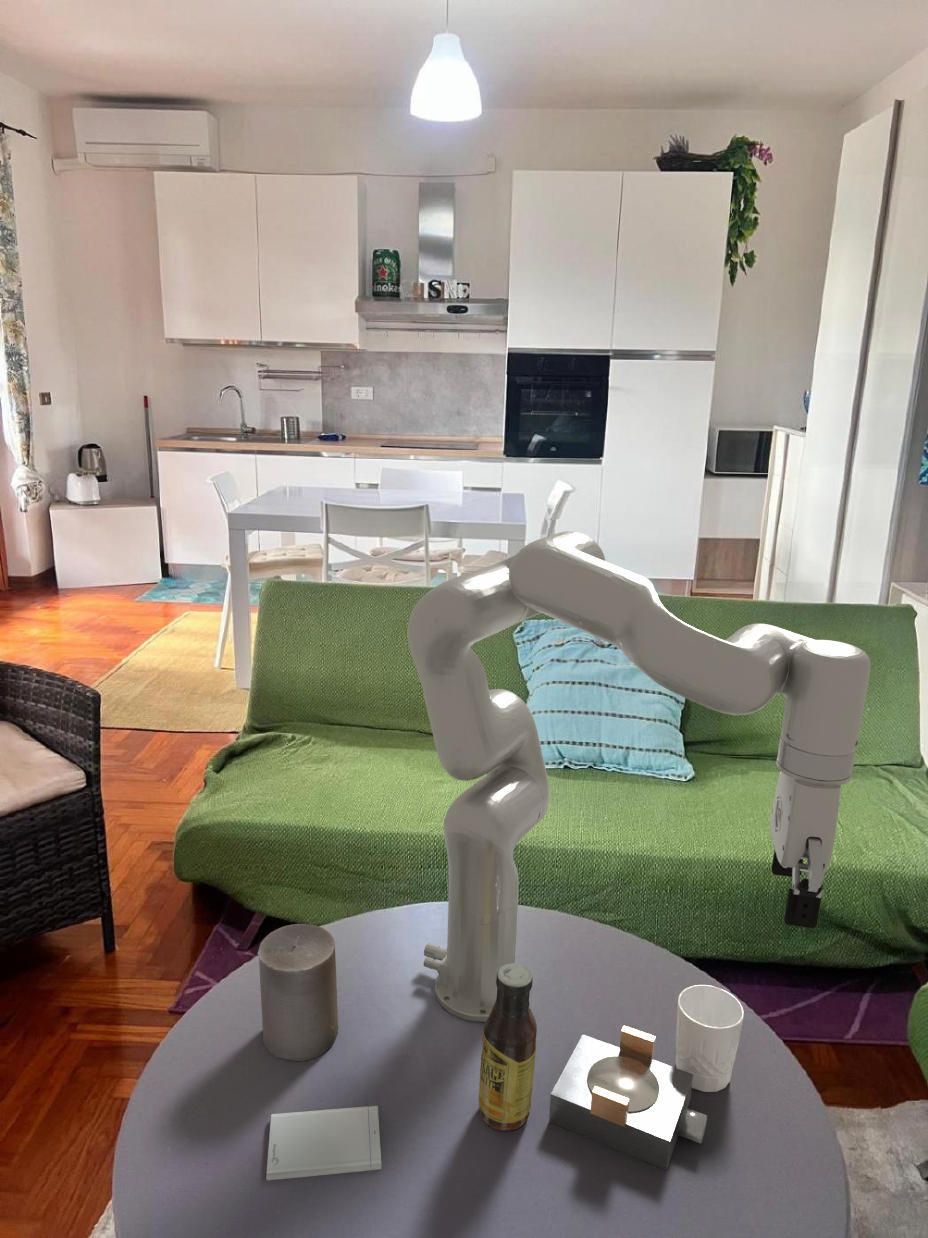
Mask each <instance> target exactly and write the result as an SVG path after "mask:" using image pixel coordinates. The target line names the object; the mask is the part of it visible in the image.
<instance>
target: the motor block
mask: <svg viewBox="0 0 928 1238" xmlns="http://www.w3.org/2000/svg"><path fill="white" fill-rule="evenodd" d="M619 1041H620V1044H619V1046H615V1045H613V1044H612V1043H608V1042H605V1041H602V1040H599V1039H596V1038H594V1037H592V1036H588V1035H587V1034H582V1035H581V1036H580V1039H579V1041H578V1043H577V1044H576V1046H575V1048H574V1050H573V1052H572V1054H571V1056H570V1057H569V1059H568V1061H567V1063H566V1065H565V1066H564V1069H563V1071H562V1073H561V1074H560V1076H559V1078H558V1080H557V1081H556V1084H555V1085H554V1087H553V1089H552V1090H551V1092H550V1099H549V1100H550V1101H549V1115H548V1122H549V1123H551V1124H553V1125H556V1126H558V1127H561V1128H563V1129H566V1130H567V1131H568V1130H569V1131H570V1132H573V1133H575V1134H578V1135H580V1136H582V1137H585V1138H588V1139H590V1140H593V1141H595V1142H597V1143H600V1144H602V1145H604V1146H606V1147H609V1148H612V1149H614V1150H617V1151H619V1152H621V1153H623V1154H626V1155H629V1156H631V1157H634V1158H636V1159H638V1160H641V1161H643V1162H646V1163H649V1164H651V1165H653V1166H655V1167H658V1168H660V1169H663V1170H665V1171H667V1170H668V1167H669V1165H670V1162H671V1158H672V1156H673V1153H674V1150H675V1146H676V1144H677V1141H678V1138H679V1136H681V1137H682V1138H685V1139H688V1140H690V1141H692V1142H696V1143H699V1144H702V1142H703V1140H704V1136H705V1132H706V1128H707V1121H708V1115H707V1114H704V1113H703V1112H699V1111H696V1110H694V1109H692V1108H689V1105H690V1103H691V1096H692V1089H693V1088H692V1081H693V1074H691V1073H688V1072H685V1071H683V1070H680V1069H677V1068H676V1067H674V1066H672V1065H668V1064H666V1063H663V1062H660V1061H659V1060H655V1059H654V1058H655V1057H654V1055H655V1046H656V1035H655V1036H654V1035H652V1034H650V1033H647V1032H644V1031H642V1030H638V1029H635V1028H632V1027H630V1026H626V1025H623V1026H622V1028H621V1032H620V1040H619Z"/></svg>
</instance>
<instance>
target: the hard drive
mask: <svg viewBox="0 0 928 1238" xmlns="http://www.w3.org/2000/svg"><path fill="white" fill-rule="evenodd" d="M379 1119H380V1117H379V1106H378V1105H370V1106H365V1105H364V1106H359V1107H358V1106H356V1107H344V1108H330V1109H320V1110H308V1111H296V1112H295V1111H293V1112H281V1113H272V1114H271V1115H270V1123H269V1132H268V1133H269V1135H268V1145H267V1146H268V1147H267V1159H266V1160H267V1161H266V1173H265V1174H266V1176H265V1177H266V1181H274V1180H283V1179H284V1180H286V1179H294V1178H296V1179H297V1178H305V1177H307V1178H308V1177H317V1176H318V1177H319V1176H325V1175H326V1176H327V1175H336V1174H345V1173H346V1174H347V1173H357V1172H366V1171H376V1170H378V1171H379V1170H382V1164H383V1163H382V1152H381V1151H382V1150H381V1136H380V1120H379Z"/></svg>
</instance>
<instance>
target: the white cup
mask: <svg viewBox="0 0 928 1238" xmlns="http://www.w3.org/2000/svg"><path fill="white" fill-rule="evenodd" d="M744 1010H745V1009H744V1008H743V1005H742V1004H741V1002H740V1000H739V999H737V997H735V996H734V995H733V994H732V993H730V992H729V991H726V990H725V989H722V988H721V987H717V986H713V985H708V984H697V985H696V984H695V985H691V986H689V987H686V988H684V989H683V990H682V991H681V992H680V993H679V995H678V998H677V1012H676V1013H677V1015H676V1029H675V1032H676V1033H675V1052H676V1055H675V1068H677V1069H680V1070H683V1071H685V1072H688V1073H691V1074H693V1081H692V1089H695V1090H697V1091H701V1092H704V1093H717V1092H719V1091H721V1090H722V1091H723V1089H726V1088H727V1086H728V1084H729V1083H730V1081H731V1078H732V1072H733V1068H734V1063H735V1061H736V1057H737V1052H738V1048H739V1042H740V1039H741V1038H740V1036H741V1031H742V1026H743V1021H744V1015H745V1013H744V1012H745V1011H744Z"/></svg>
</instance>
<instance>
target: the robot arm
mask: <svg viewBox="0 0 928 1238" xmlns="http://www.w3.org/2000/svg"><path fill="white" fill-rule="evenodd" d="M540 614H543V615H545V616H547V617H550V618H553V619H554V620H557V621H559V622H561V623H563V624H566V625H568V626H571V627H573V628H575V629H578V630H579V631H582V632H584V633H586V634H588V635H591V636H592V637H593V636H594V637H595V638H597V639H600V640H602V641H604V642H607V643H608V644H610V645H613V646H615V647H616V648H618V649H619V650H620V651H621V652H622V653H623V654H624V655H625V656H626V657H627V659H628V660H629V661H630V662H631V663H632V664H634V666H635V667H637V668H638V669H639V670H640V671H641V672H643V674H644V675H645V676H646V677H648V678H649V679H650V680H652V681H653V682H655V683H656V684H658V686H661V687H662V688H664V689H666V690H668V691H670V692H672V693H674V694H676V695H678V696H680V697H683V698H685V699H687V700H689V701H691V702H694V703H696V704H698V705H701V706H703V707H704V708H707V709H710V710H713V711H716V712H719V713H722V714H727V715H732V716H746V715H750V714H754V713H756V712H758V711H761V710H762V709H763V708H764V707H766V706H767V705H768V704H769V703H770V702H771V701H772V699H774V697H775V696H776V695H781V696H783V697H784V698H785V704H784V712H783V718H782V723H781V724H782V725H781V732H780V735H779V737H780V738H779V742H778V743H779V744H778V750H777V757H776V767H777V769H778V770H779V775H778V779H777V782H776V783H777V784H776V789H775V793H774V798H773V803H772V808H771V814H770V819H769V832H770V836H771V841H772V845H773V850H774V851H773V856H772V857H773V858H772V863H771V873H772V874H773V875H774V876H781V877H788V878H789V877H790V878H792V881H791V883H792V886H791V888H788V893H787V898H786V904H785V911H784V916H783V920H784V923H785V924H786V925H788V926H795V927H802V928H809V929H814V928H816V927H817V925H818V920H819V915H820V914H819V912H820V907H821V903H822V902H821V901H822V897H823V890H824V888H823V887H824V884H823V882H824V881H825V880H824V879H825V873H826V872H827V870H829V868H830V864H831V860H832V856H833V851H834V850H833V849H834V845H835V838H836V832H837V823H838V816H839V810H840V809H839V808H840V803H841V802H840V798H841V789H842V785H843V786H844V785H846V784H847V783H849V782H851V780H852V776H853V770H854V764H855V760H856V756H857V747H858V743H859V737H860V732H861V726H862V720H863V714H864V710H865V708H864V707H865V705H866V697H867V691H868V686H869V681H870V674H871V669H872V668H871V666H872V665H871V660H870V657H869V655H868V654H867V653H866V652H865V651H864V650H863V649H862V648H859V647H857V646H855V645H853V644H849V643H846V642H842V641H837V640H830V639H814V638H811V637H809V636H805V635H802V634H800V633H795V632H793V631H790V630H787V629H785V628H782V627H779V626H775V625H772V624H767V623H751V624H748V625H745V626H742V627H741V628H739V629H737V630H736V631H734V633H733V634H732V635H730V636H729V637H727V638H726V639H722V638H719V637H718V636H715V635H713V634H710V633H708V632H705V631H702V630H700V629H698V628H696V627H694V626H692V625H689V624H688V623H686V622H684V621H682V620H681V619H679V618H678V617H676V616H675V615H674V614H673V613H672V612H670V611H669V610H668V609H667V608H666V607H665V606H664V605H663V603H662V602H661V600H660V598H659V595H658V592H657V588H656V585H655V583H654V582H653V581H652V580H651V579H650V578H648V577H646V576H643V575H641V574H639V573H636V572H634V571H631V570H628V569H625V568H623V567H620V566H618V565H616V564H613V563H610V562H608V561H606V557H605V555H604V552H603V550H602V548H601V546H600V545H599V544H598V543H597V542H596V541H595V540H594V539H592V537H590V536H588V535H587V534H585V533H582V532H577V531H561V532H557V533H554V534H551V535H548V536H545V537H542V538H539V539H537V540H533V541H531V542H530V543H527V544H526V545H525V546H523V547H522V548H521V549H520V550H519V551H518V552H517V553H516V554H515V555H513V556H511V557H508V558H506V559H503V560H502V561H499V562H496V563H494V564H491V565H488V566H486V567H483V568H480V569H477V570H475V571H471V572H468V573H464V574H461V575H458V576H456V577H453V578H450V579H448V580H446V581H444V582H442V583H440V584H438V585H436V586H435V587H433V588H431V589H430V590H429V591H428V592H426V593H425V594H424V595H422V597H421V598H420V599H419V600H418V601H417V603H416V604H415V605H414V607H413V609H412V610H411V613H410V615H409V618H408V622H407V632H406V634H407V643H408V647H409V650H410V654H411V658H412V660H413V663H414V665H415V668H416V671H417V675H418V678H419V680H420V684H421V688H422V692H423V697H424V703H425V706H426V707H425V708H426V712H427V716H428V720H429V725H430V728H431V733H432V737H433V740H434V745H435V748H436V753H437V756H438V760H439V762H440V765H441V767H442V768H443V771H444V772H446V774H448V775H449V776H450V777H451V778H453V779H454V780H458V781H463V782H467V781H468V782H469V781H473V780H476V779H478V778H481V777H483V776H484V777H483V778H482V779H480V780H478V781H477V782H475V783H474V784H472V785H471V786H469V787H468V788H467V789H466V790H464V791H463V792H462V793H461V794H459V795H458V796H457V797H456V799H454V800H453V802H452V803H451V804H450V805H449V808H448V809H447V811H446V813H445V816H444V819H443V836H444V837H443V838H444V843H445V848H446V854H447V863H448V864H447V865H448V905H447V907H448V908H447V909H448V910H447V935H446V936H447V939H446V945H447V946H446V948H443V947H441V946H440V945H436V944H434V943H430V942H427V943H426V945H425V947H424V950H423V955H424V957H425V959H424V960H423V967H425V968H427V969H431V970H435V971H436V972H437V975H436V979H435V983H434V992H435V993H434V994H435V997H436V1000H437V1001H438V1004H440V1006H441V1007H442V1008H443V1009H445V1010H446V1011H447V1012H448V1013H450V1014H452V1015H453V1016H455V1017H458V1018H459V1019H462V1020H466V1021H470V1022H479V1023H481V1022H483V1023H484V1022H485V1023H486V1022H487V1020H488V1017H489V1015H490V1013H491V1011H492V1009H493V1007H494V1004H495V1002H496V997H497V985H496V977H497V972H498V970H499V969H500V968H501V967H502V966H504V965H506V964H512V963H514V964H516V949H517V932H518V931H517V929H518V926H517V925H518V911H519V910H518V909H519V884H520V881H519V879H520V878H519V873H518V869H517V866H516V863H515V860H514V851H515V848H516V845H518V843H519V842H521V840H522V839H523V838H524V837H525V836H526V835H528V833H529V832H530V831H531V830H533V828H535V827H536V826H537V825H538V824H539V823H540V822H541V821H542V820H543V819H544V817H545V816H546V815H547V813H548V809H549V807H550V803H551V790H550V783H549V779H548V774H547V769H546V765H545V761H544V759H545V758H544V755H543V751H542V747H541V742H540V739H539V738H540V737H539V732H538V729H537V725H536V722H535V719H534V716H533V714H532V712H531V710H530V708H529V707H528V705H527V703H525V701H524V700H523V699H522V698H521V697H520V696H518V695H517V694H515V693H514V692H512V691H510V690H507V689H505V688H504V689H503V688H494V689H489V685H488V683H489V682H488V678H487V675H486V674H487V673H486V671H485V668H484V666H483V664H482V662H481V661H480V658H479V656H478V655H477V654H476V653H475V651H474V650H473V649H472V648H471V647H472V645H474V644H476V643H478V642H479V641H482V640H483V639H486V638H489V637H490V636H493V635H495V634H497V633H500V632H502V631H504V630H506V629H509V628H511V627H513V626H514V625H517V624H519V623H522V622H523V621H526V620H529V619H531V618H533V617H536V616H539V615H540ZM485 775H486V776H485ZM804 860H805V861H807V863H804ZM802 872H806V873H807V875H806V878H803V879H802V880H801V875H802Z"/></svg>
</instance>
